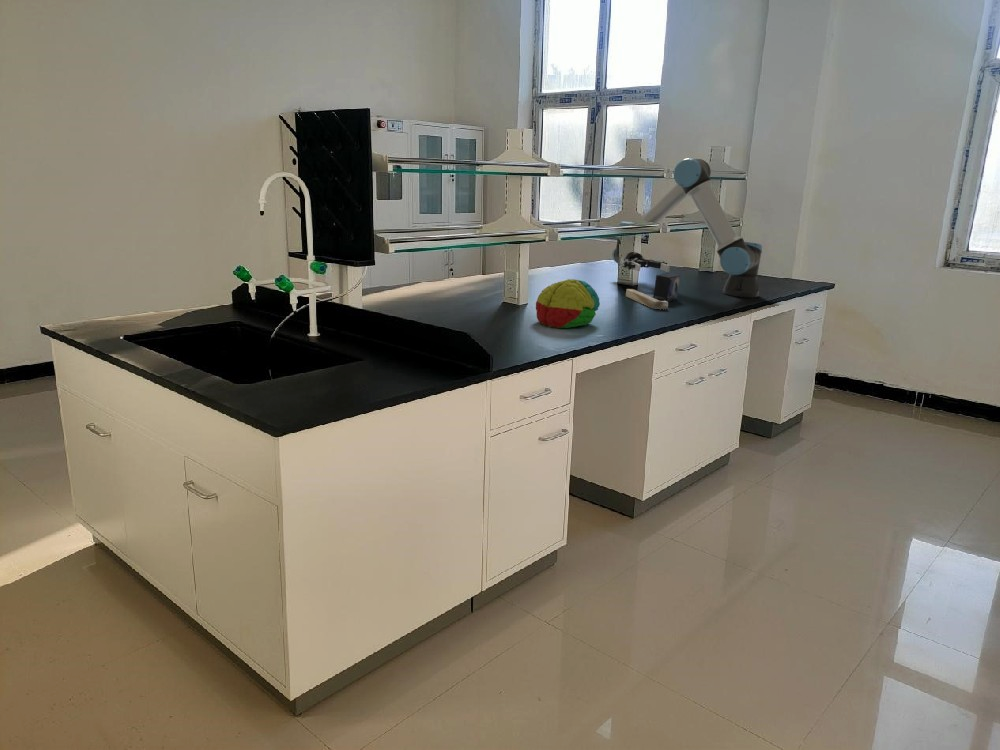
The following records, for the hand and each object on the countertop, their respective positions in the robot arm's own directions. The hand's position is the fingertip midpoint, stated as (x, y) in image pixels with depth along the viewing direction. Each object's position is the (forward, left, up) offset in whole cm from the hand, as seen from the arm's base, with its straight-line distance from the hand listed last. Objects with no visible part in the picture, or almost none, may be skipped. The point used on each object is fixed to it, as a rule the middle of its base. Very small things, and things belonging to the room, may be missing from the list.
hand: (654, 268), depth 304 cm
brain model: (+57, +52, -11) cm, 78 cm away
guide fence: (+11, +18, -11) cm, 24 cm away
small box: (-1, +12, -11) cm, 16 cm away
